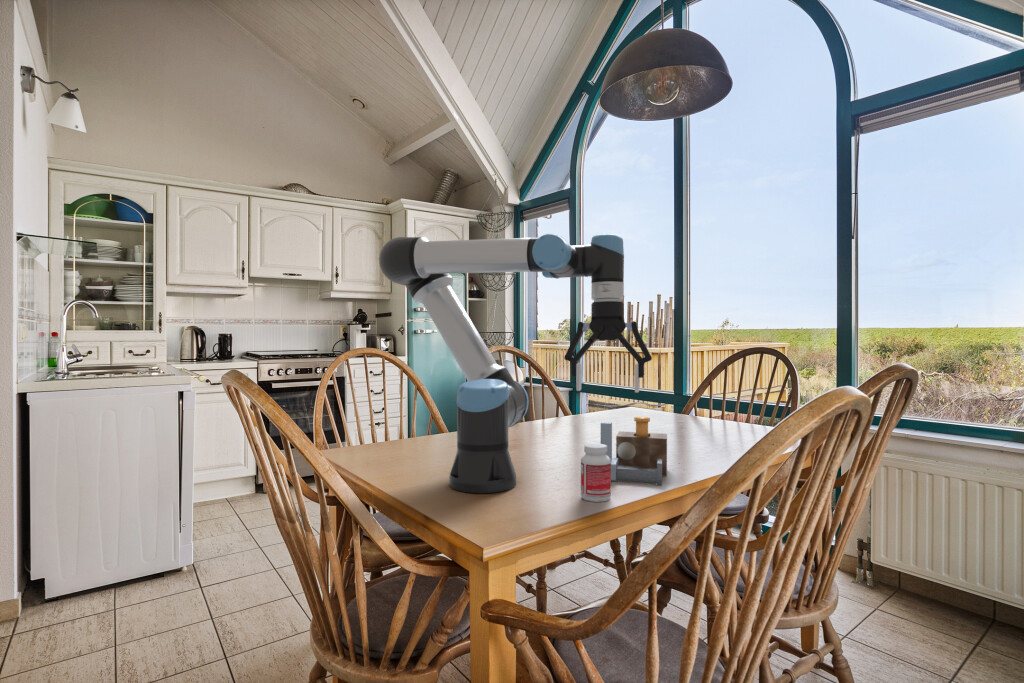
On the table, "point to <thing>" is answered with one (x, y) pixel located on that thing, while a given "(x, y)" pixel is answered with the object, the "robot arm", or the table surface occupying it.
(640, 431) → the peg
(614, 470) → the carriage
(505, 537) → the table surface
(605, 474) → the pill bottle
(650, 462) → the cabinet
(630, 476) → the grey u-shaped bracket
